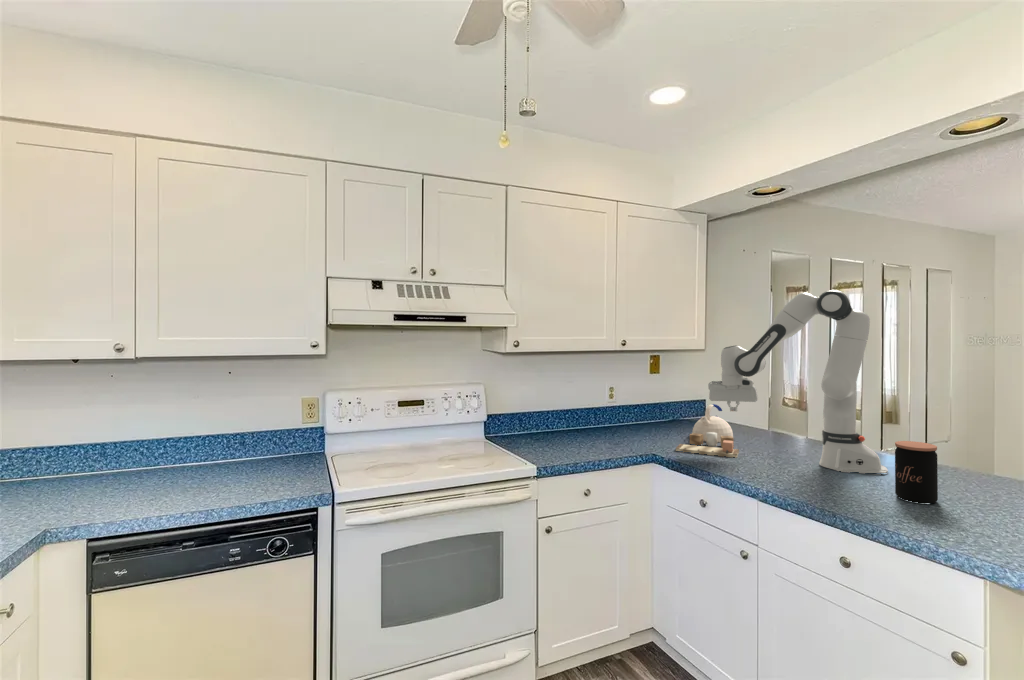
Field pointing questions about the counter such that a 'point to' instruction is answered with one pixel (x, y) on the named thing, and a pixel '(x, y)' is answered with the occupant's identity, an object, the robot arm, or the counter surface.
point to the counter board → (707, 450)
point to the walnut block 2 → (726, 439)
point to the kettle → (712, 425)
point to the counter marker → (728, 446)
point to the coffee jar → (916, 471)
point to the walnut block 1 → (696, 439)
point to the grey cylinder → (711, 439)
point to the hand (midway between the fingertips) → (733, 411)
